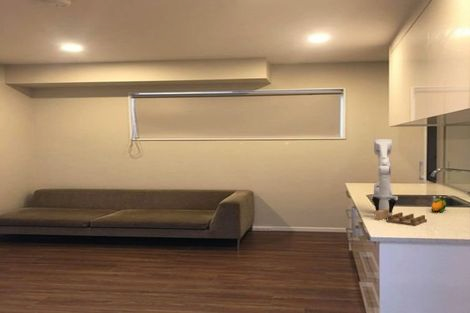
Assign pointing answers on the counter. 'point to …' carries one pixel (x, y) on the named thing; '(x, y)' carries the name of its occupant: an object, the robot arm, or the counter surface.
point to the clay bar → (382, 214)
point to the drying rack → (406, 219)
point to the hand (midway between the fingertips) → (383, 211)
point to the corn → (438, 205)
